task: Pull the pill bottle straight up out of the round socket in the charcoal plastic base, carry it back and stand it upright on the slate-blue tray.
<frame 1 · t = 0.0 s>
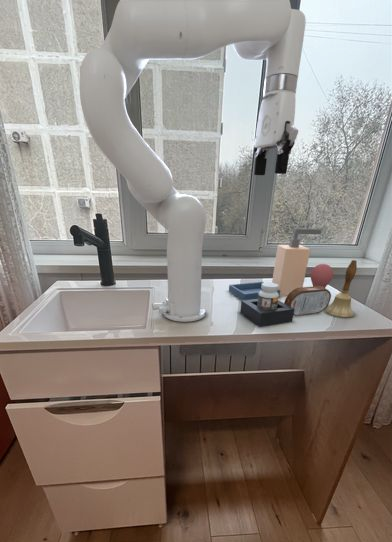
hand: (269, 174, 76), 37 cm above the worktop, tool pointing down, fingers open, 9 cm apart
soap dispenser: (290, 292, 107), on the worktop
socket base: (265, 317, 85), on the worktop
hand bell: (338, 313, 90), on the worktop
light bulb: (316, 299, 101), on the worktop
tray: (253, 294, 104), on the worktop
tin: (305, 314, 88), on the worktop
pill bottle: (265, 317, 85), resting in socket base
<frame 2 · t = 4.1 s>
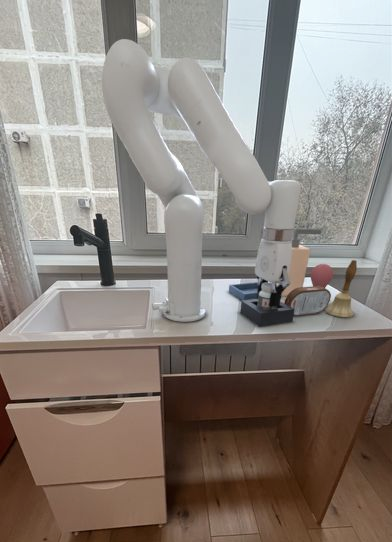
hand: (267, 301, 83), 5 cm above the worktop, tool pointing down, fingers closed on pill bottle, 5 cm apart
pill bottle: (265, 317, 85), resting in socket base, touching gripper
everything else where it was.
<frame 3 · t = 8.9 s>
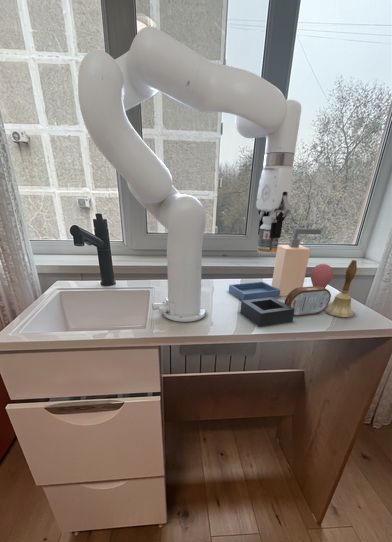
hand: (268, 235, 83), 22 cm above the worktop, tool pointing down, fingers closed on pill bottle, 5 cm apart
pill bottle: (266, 253, 86), point 16 cm above the worktop, touching gripper
everything else where it was.
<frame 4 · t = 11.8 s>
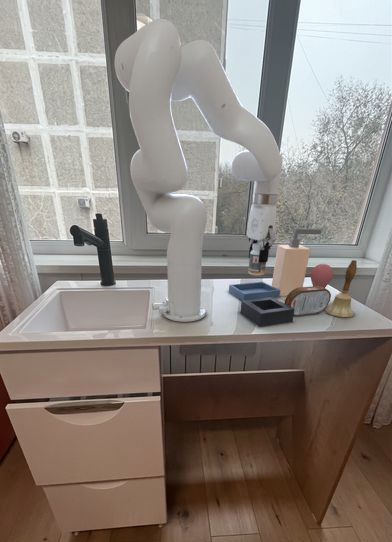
hand: (257, 259, 98), 12 cm above the worktop, tool pointing down, fingers closed on pill bottle, 5 cm apart
pill bottle: (256, 274, 100), point 7 cm above the worktop, touching gripper
everything else where it was.
when the fingers open (6 cm above the worktop, at t = 13.9 s): pill bottle stays where it is, resting on tray.
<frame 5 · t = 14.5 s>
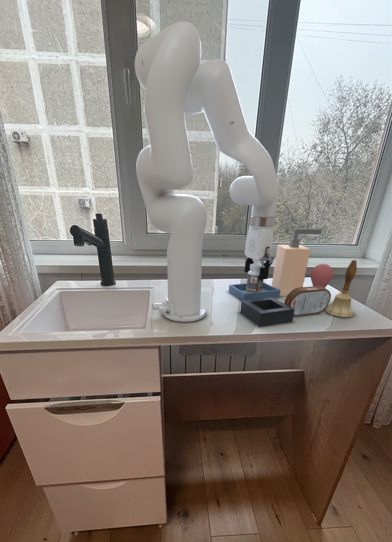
hand: (255, 275, 100), 7 cm above the worktop, tool pointing down, fingers open, 9 cm apart
pill bottle: (253, 293, 104), resting on tray
everything else where it was.
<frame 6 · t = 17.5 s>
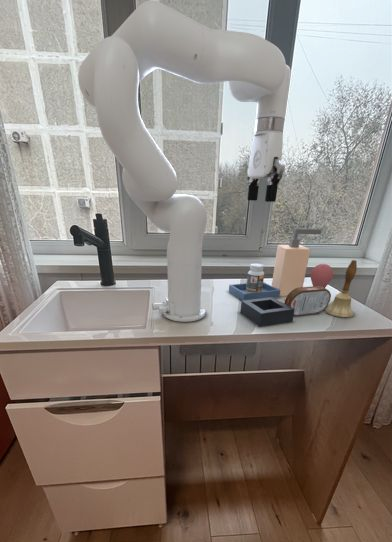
hand: (260, 200, 85), 30 cm above the worktop, tool pointing down, fingers open, 9 cm apart
nothing on the worktop moved.
at the end: pill bottle inside the target area in the tray (0.0 cm from its centre), point 0.4 cm above the tray's base; pill bottle tilted 0°; pill bottle touching tray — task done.
